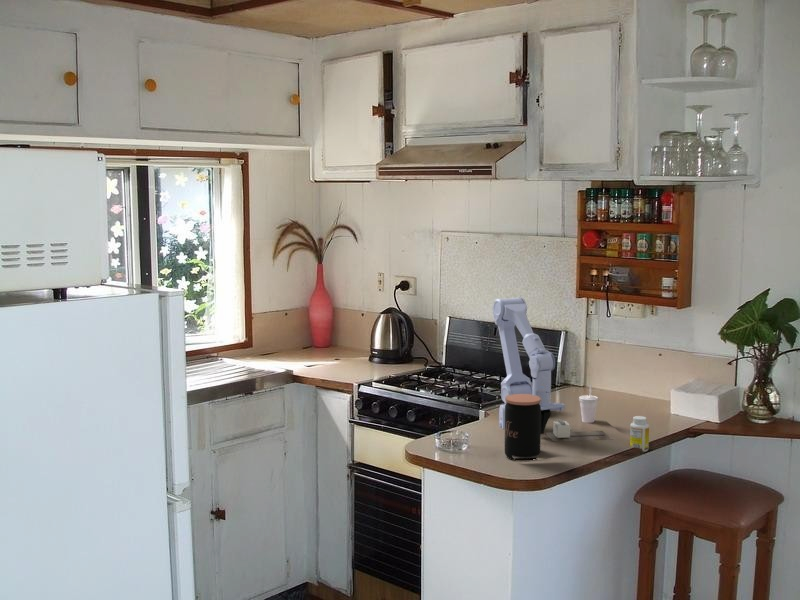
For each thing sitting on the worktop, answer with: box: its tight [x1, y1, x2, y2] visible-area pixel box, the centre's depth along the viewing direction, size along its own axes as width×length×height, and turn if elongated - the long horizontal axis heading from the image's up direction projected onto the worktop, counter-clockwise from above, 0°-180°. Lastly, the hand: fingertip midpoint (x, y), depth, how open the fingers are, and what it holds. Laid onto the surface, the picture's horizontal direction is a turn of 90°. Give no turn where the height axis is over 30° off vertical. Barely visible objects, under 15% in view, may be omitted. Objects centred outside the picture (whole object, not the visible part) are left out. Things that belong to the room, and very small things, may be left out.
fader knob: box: [552, 418, 571, 438], centre depth 290 cm, size 4×5×5 cm
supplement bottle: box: [629, 415, 650, 453], centre depth 280 cm, size 6×6×10 cm
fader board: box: [545, 430, 613, 443], centre depth 291 cm, size 19×10×2 cm, turn 96°
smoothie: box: [578, 384, 599, 424], centre depth 308 cm, size 6×6×14 cm
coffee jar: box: [504, 394, 542, 461], centre depth 274 cm, size 11×11×18 cm
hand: (540, 433), depth 290 cm, fingers closed
